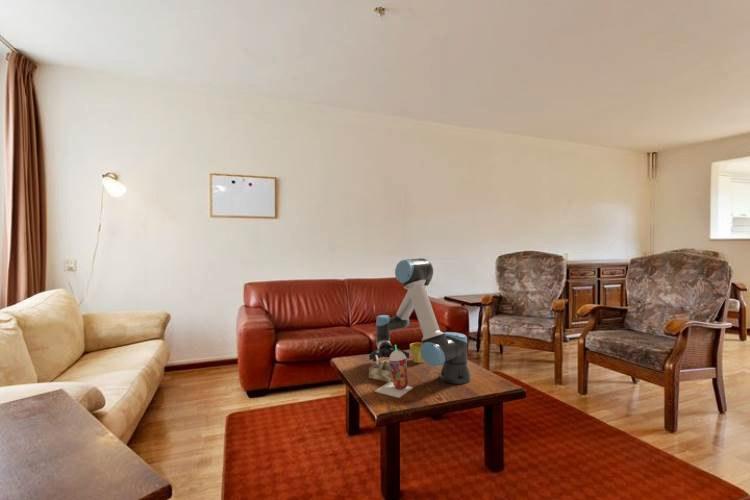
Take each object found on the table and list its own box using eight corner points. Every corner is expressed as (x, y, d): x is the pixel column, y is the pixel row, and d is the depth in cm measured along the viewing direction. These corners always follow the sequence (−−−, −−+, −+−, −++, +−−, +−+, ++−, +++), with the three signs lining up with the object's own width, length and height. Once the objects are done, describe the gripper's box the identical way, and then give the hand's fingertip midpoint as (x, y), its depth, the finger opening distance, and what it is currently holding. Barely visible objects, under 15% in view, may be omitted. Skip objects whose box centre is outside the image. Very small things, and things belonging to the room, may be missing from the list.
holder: (407, 374, 195) (406, 364, 195) (392, 383, 184) (392, 373, 183) (384, 369, 204) (383, 360, 203) (369, 377, 192) (368, 367, 191)
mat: (412, 388, 177) (412, 387, 177) (399, 397, 166) (399, 397, 166) (389, 382, 184) (389, 381, 184) (374, 391, 173) (374, 390, 173)
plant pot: (409, 358, 221) (409, 342, 221) (426, 358, 221) (426, 342, 221) (410, 364, 211) (410, 347, 210) (429, 364, 211) (428, 347, 210)
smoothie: (410, 383, 180) (404, 342, 181) (410, 388, 172) (403, 345, 173) (393, 385, 181) (387, 344, 182) (392, 390, 172) (386, 347, 174)
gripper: (408, 354, 201) (417, 367, 180) (362, 356, 198) (366, 370, 177) (408, 340, 201) (417, 352, 180) (362, 342, 198) (365, 354, 177)
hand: (391, 361), depth 178 cm, fingers open, 13 cm apart
